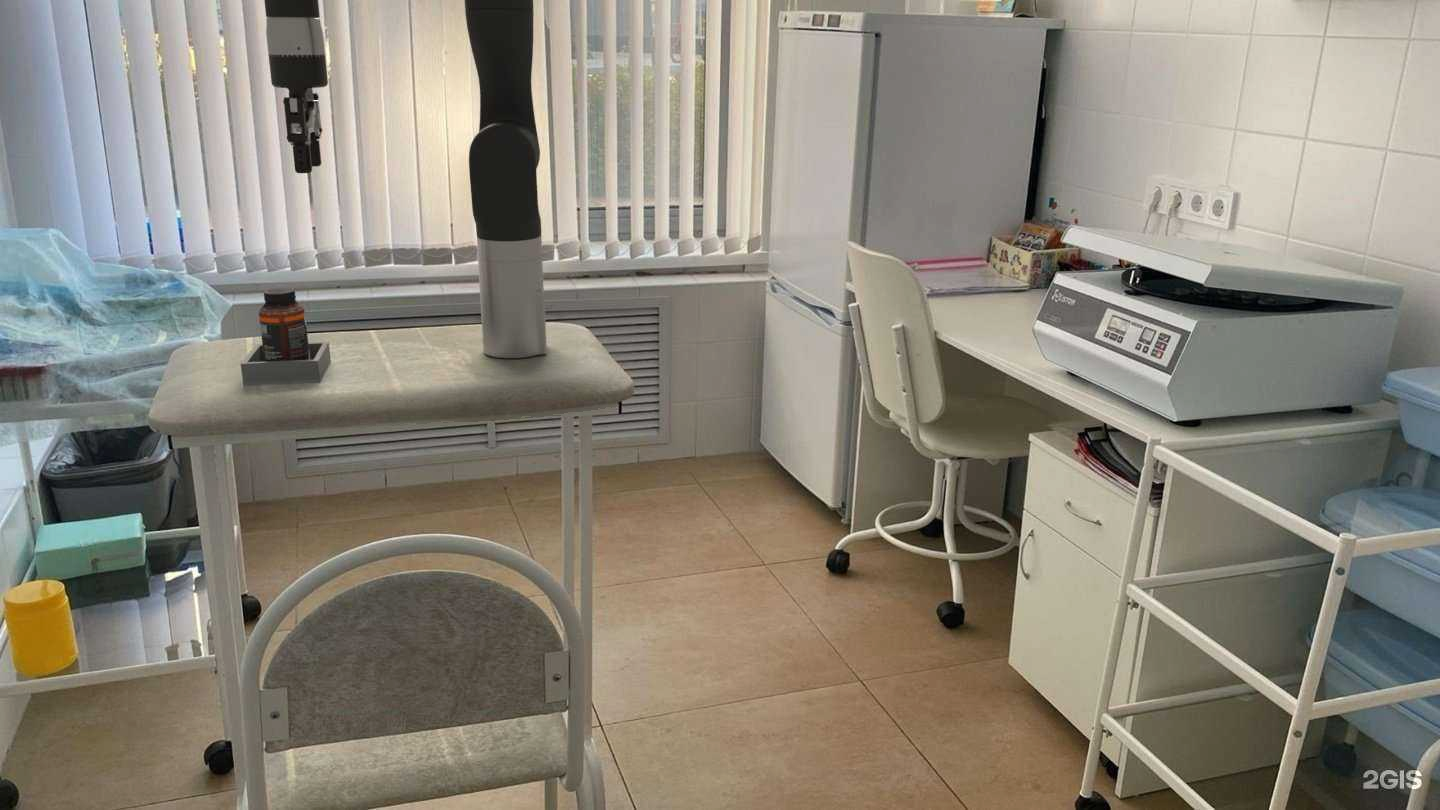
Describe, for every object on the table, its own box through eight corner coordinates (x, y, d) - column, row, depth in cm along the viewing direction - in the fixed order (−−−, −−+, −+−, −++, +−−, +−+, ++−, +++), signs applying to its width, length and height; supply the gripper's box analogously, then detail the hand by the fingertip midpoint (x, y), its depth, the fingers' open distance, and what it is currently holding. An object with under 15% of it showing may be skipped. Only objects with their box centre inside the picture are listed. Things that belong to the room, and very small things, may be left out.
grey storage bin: (330, 361, 164) (328, 341, 163) (320, 382, 154) (318, 360, 153) (258, 364, 162) (255, 344, 161) (243, 385, 153) (240, 363, 152)
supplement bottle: (318, 365, 161) (310, 286, 157) (299, 377, 155) (290, 295, 151) (278, 363, 161) (269, 284, 158) (257, 375, 156) (247, 294, 152)
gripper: (316, 53, 153) (328, 175, 158) (332, 51, 167) (342, 163, 172) (258, 52, 152) (272, 176, 157) (278, 50, 165) (290, 164, 170)
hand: (308, 169), depth 164 cm, fingers open, 8 cm apart
